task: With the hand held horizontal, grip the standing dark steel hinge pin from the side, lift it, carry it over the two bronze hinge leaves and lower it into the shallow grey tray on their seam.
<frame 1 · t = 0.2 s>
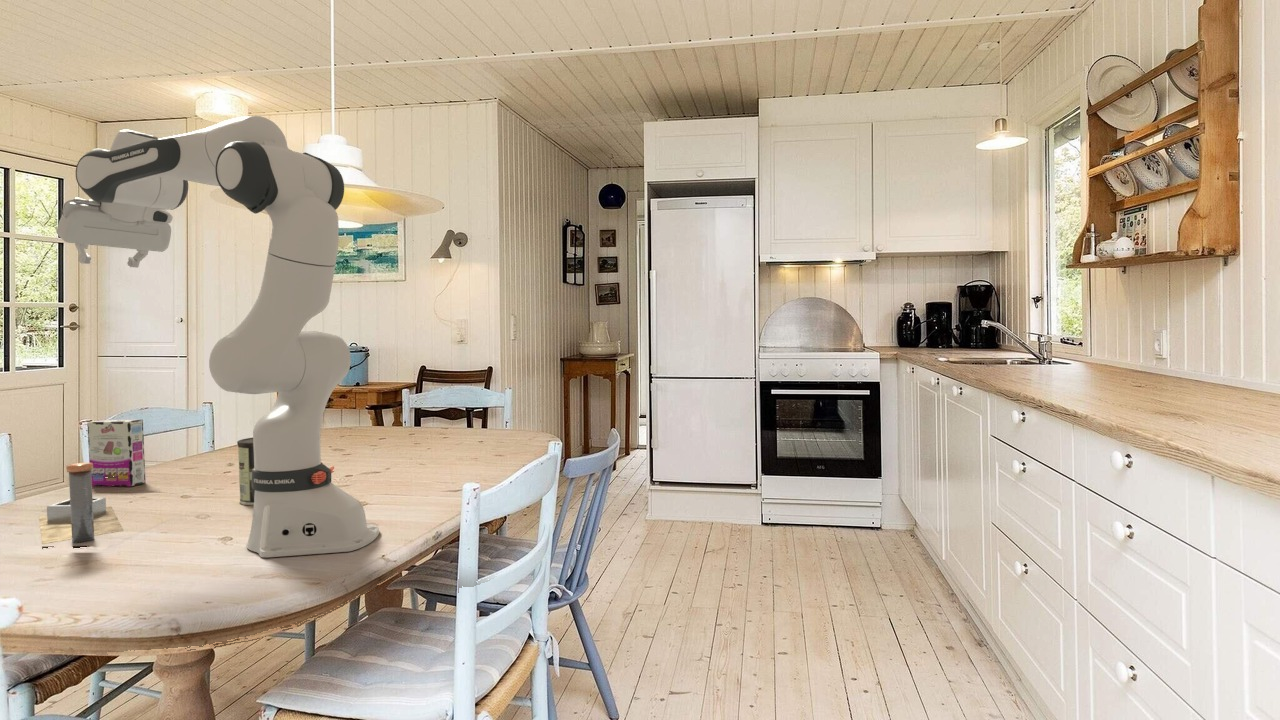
hand: (108, 264, 154), 53 cm above the table, tool tilted 25°, fingers open, 8 cm apart
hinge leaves: (80, 528, 141), on the table
pin: (83, 545, 130), on the table
shallow grey tray: (77, 516, 146), resting on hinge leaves
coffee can: (265, 501, 163), on the table
candy bar box: (118, 485, 179), on the table
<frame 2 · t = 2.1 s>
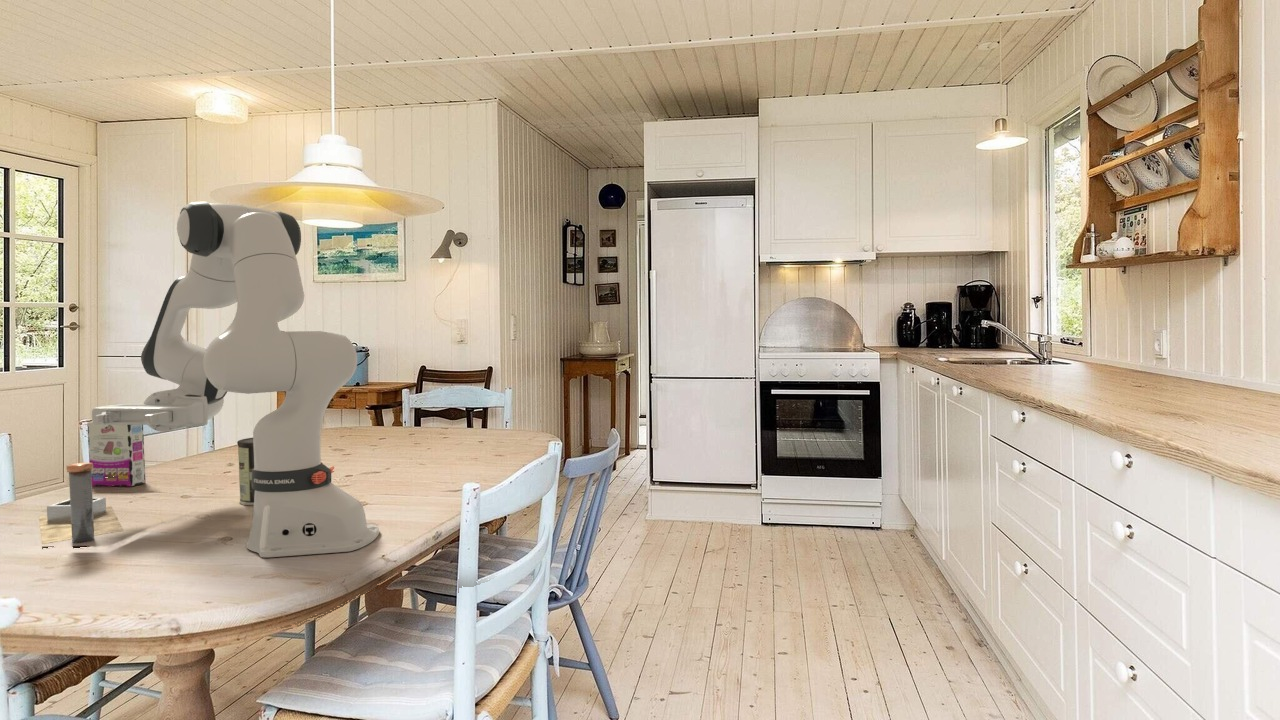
hand: (123, 419, 141), 22 cm above the table, tool horizontal, fingers open, 8 cm apart
nothing on the table moved.
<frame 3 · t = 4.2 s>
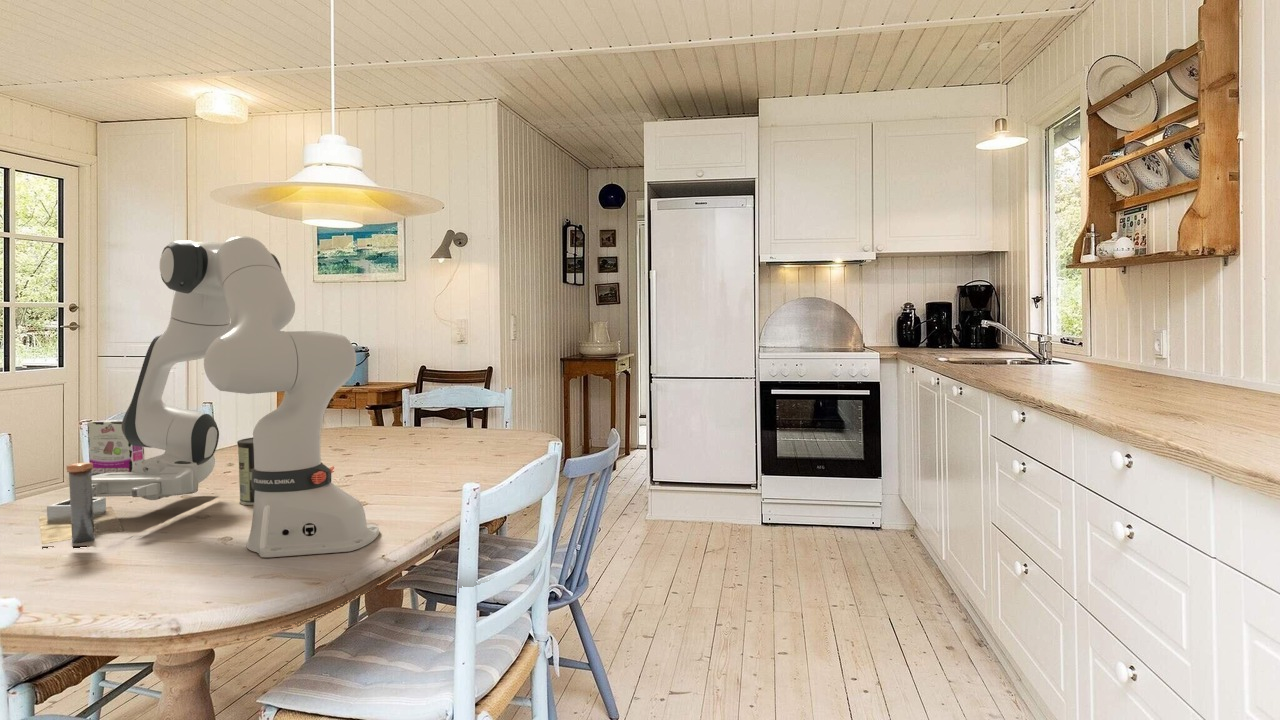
hand: (110, 493, 137), 8 cm above the table, tool horizontal, fingers open, 8 cm apart
nothing on the table moved.
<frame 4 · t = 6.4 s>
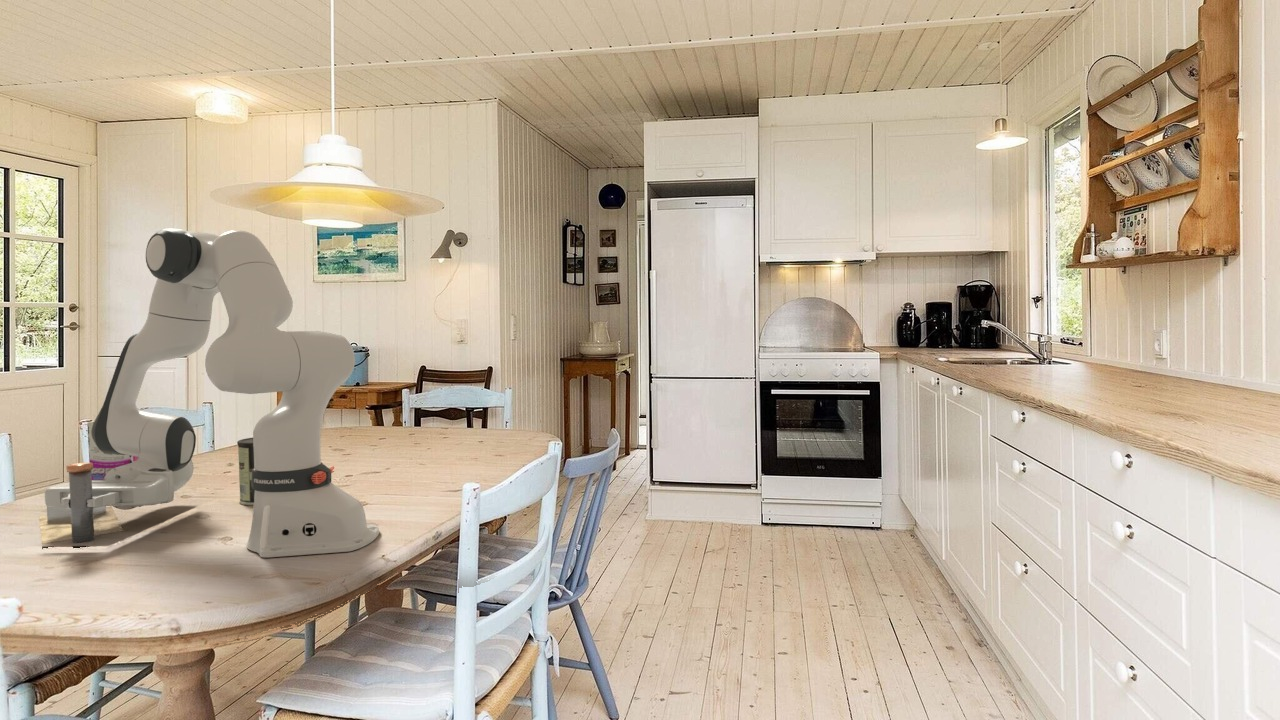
hand: (78, 503, 129), 8 cm above the table, tool horizontal, fingers closed on pin, 3 cm apart
pin: (83, 545, 130), on the table, touching gripper
everything else where it was.
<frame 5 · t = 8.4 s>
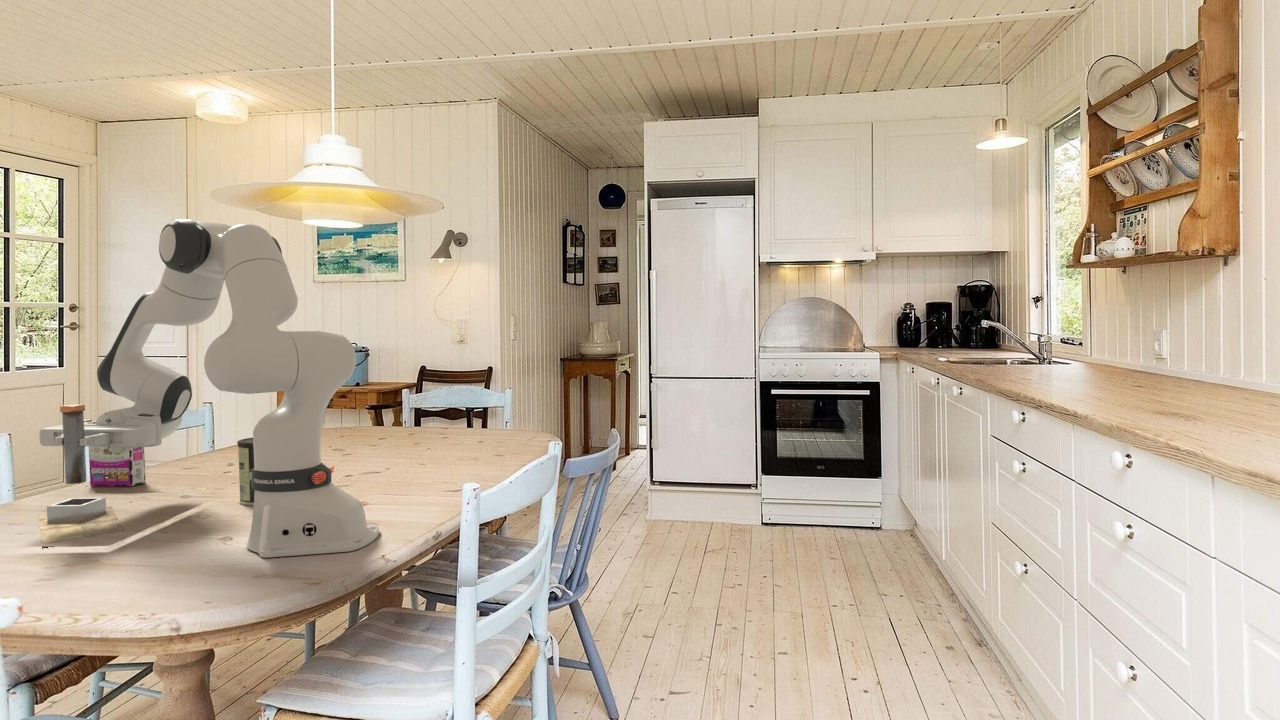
hand: (70, 442, 137), 18 cm above the table, tool horizontal, fingers closed on pin, 3 cm apart
pin: (76, 481, 139), point 10 cm above the table, touching gripper
everything else where it was.
when the fingers open (10 cm above the table, at t = 10.8 s): pin drops 1 cm, resting on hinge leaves.
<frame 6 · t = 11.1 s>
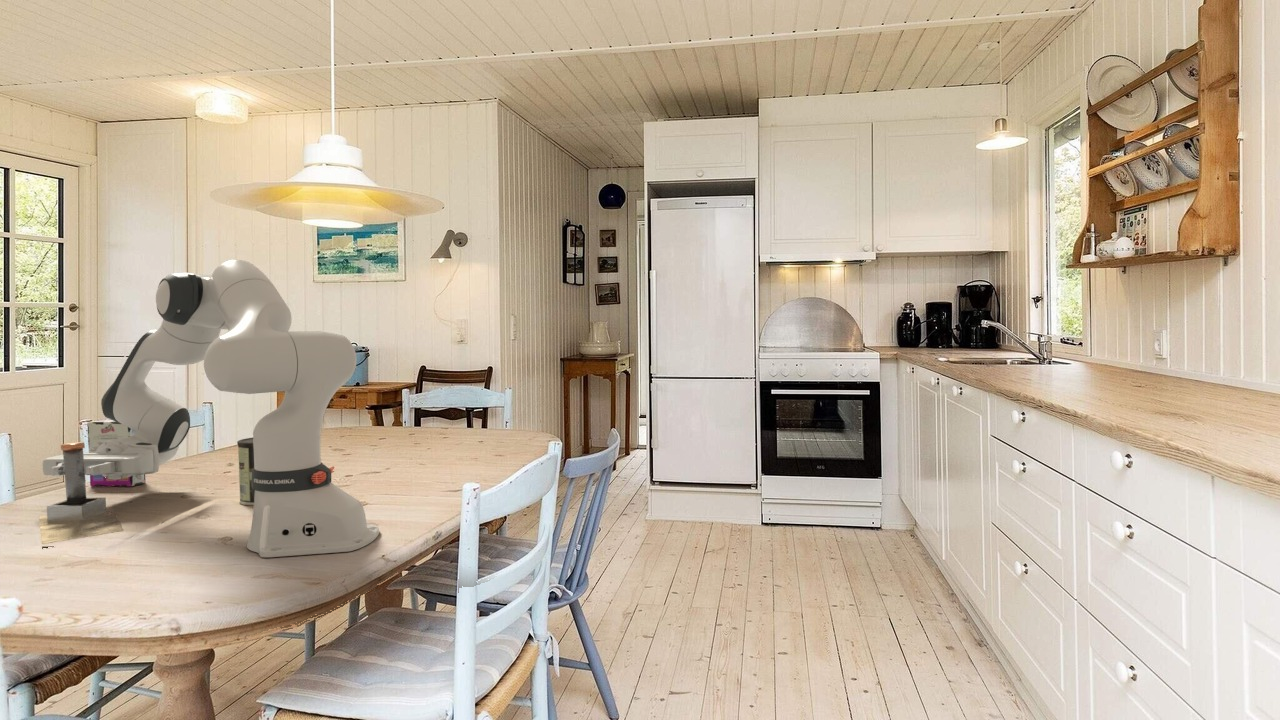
hand: (72, 471, 145), 10 cm above the table, tool horizontal, fingers open, 5 cm apart
pin: (77, 516, 146), point 1 cm above the table, touching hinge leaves
everything else where it was.
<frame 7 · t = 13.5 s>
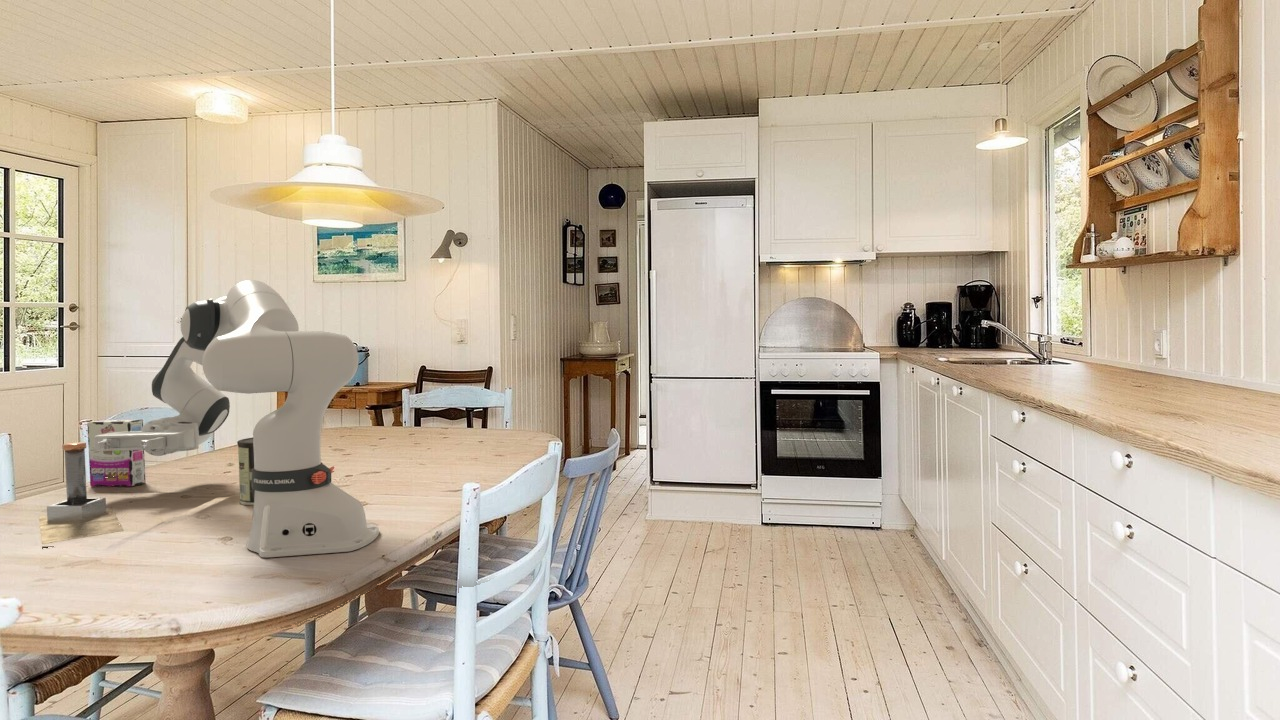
hand: (122, 445, 157), 14 cm above the table, tool horizontal, fingers open, 8 cm apart
nothing on the table moved.
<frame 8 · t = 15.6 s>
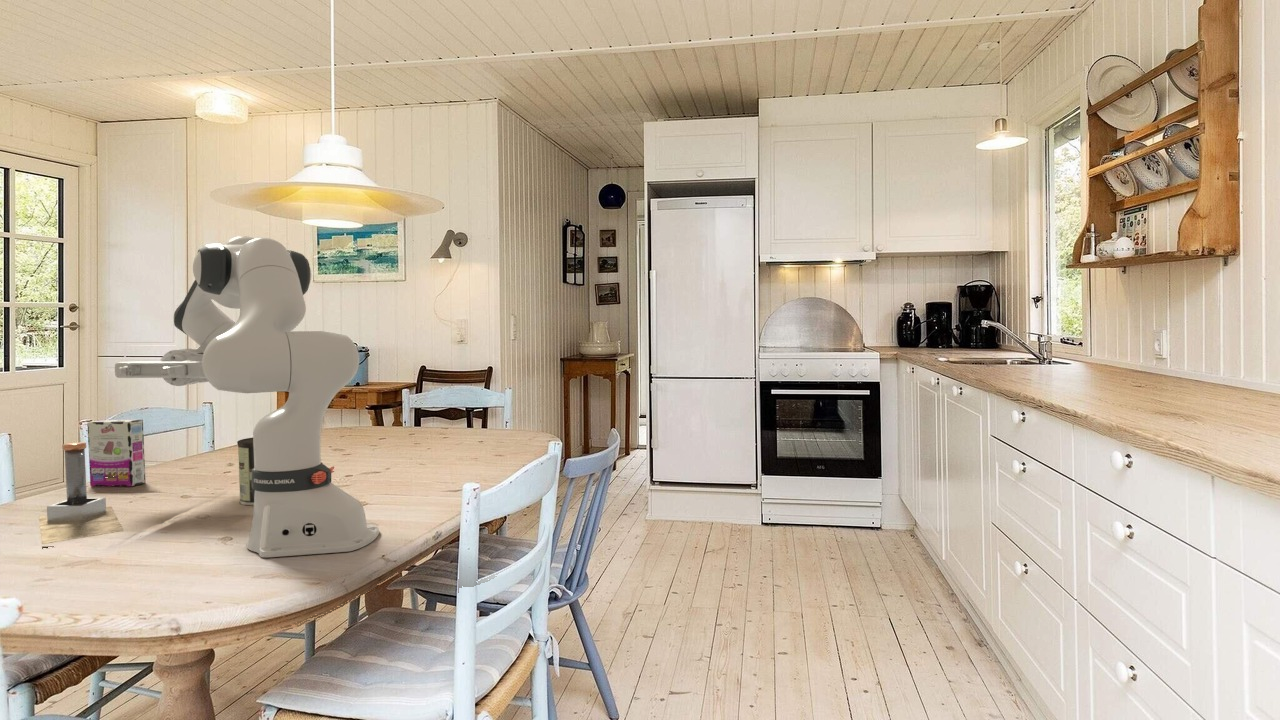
hand: (144, 371, 158), 30 cm above the table, tool horizontal, fingers open, 8 cm apart
nothing on the table moved.
at the end: pin 0.1 cm from the shallow grey tray (horizontally); pin point 1.0 cm above the table; pin tilted 0° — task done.
